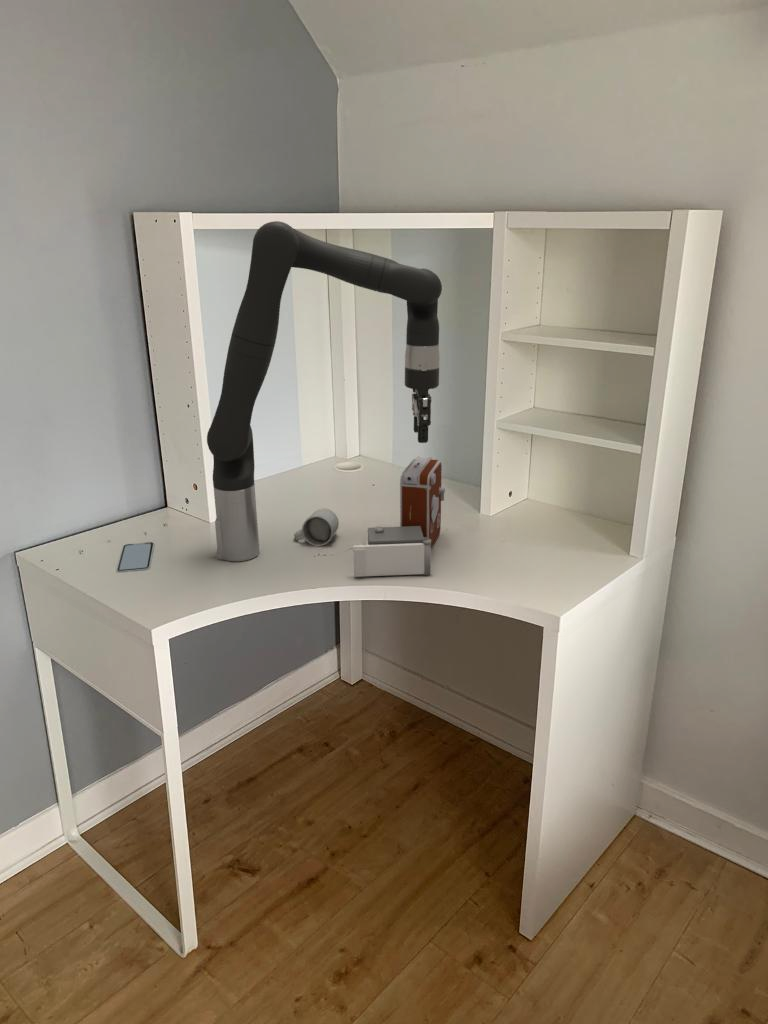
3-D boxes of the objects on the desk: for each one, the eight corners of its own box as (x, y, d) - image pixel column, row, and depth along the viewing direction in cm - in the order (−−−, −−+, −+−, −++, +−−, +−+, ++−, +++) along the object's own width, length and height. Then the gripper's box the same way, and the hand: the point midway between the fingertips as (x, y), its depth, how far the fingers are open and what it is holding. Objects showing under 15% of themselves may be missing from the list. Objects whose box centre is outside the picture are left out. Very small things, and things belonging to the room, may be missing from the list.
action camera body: (370, 578, 173) (369, 541, 170) (368, 559, 182) (367, 524, 179) (432, 576, 174) (432, 539, 171) (427, 557, 183) (427, 522, 180)
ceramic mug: (340, 534, 197) (339, 505, 194) (333, 547, 190) (331, 517, 187) (299, 532, 199) (297, 504, 196) (290, 545, 191) (288, 515, 189)
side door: (354, 577, 173) (353, 547, 170) (354, 574, 174) (353, 544, 172) (430, 574, 174) (431, 544, 171) (429, 571, 175) (430, 541, 173)
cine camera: (449, 526, 201) (451, 450, 194) (433, 557, 184) (434, 475, 176) (414, 523, 203) (414, 448, 196) (395, 553, 186) (394, 472, 179)
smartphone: (115, 571, 177) (123, 544, 191) (116, 575, 178) (123, 548, 191) (149, 568, 179) (154, 541, 192) (150, 572, 179) (155, 545, 193)
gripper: (401, 359, 179) (401, 429, 185) (408, 371, 165) (407, 446, 171) (434, 359, 179) (433, 428, 185) (443, 371, 166) (441, 445, 172)
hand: (420, 437), depth 178 cm, fingers open, 8 cm apart
